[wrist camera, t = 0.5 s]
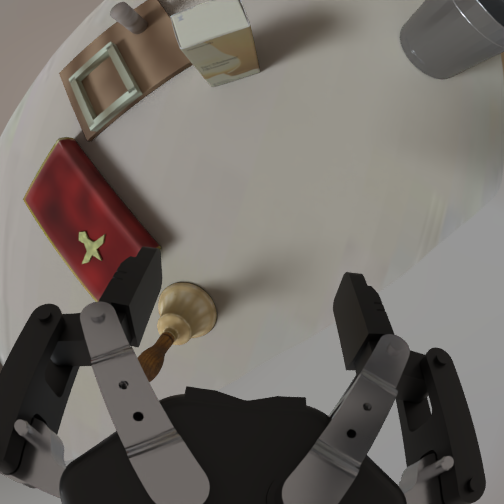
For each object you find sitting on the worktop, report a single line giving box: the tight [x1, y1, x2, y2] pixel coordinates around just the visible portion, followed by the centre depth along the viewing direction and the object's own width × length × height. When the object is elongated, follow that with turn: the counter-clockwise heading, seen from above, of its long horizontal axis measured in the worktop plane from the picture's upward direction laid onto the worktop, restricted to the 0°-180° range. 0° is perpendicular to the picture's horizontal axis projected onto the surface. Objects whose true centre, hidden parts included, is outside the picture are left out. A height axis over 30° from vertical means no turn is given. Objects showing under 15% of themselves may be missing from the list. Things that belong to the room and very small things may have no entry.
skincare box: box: [170, 0, 260, 87], centre depth 24 cm, size 6×4×12 cm
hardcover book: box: [23, 137, 161, 302], centre depth 35 cm, size 12×21×4 cm, turn 41°
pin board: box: [59, 0, 193, 141], centre depth 27 cm, size 18×14×7 cm
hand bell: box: [137, 283, 217, 382], centre depth 31 cm, size 8×8×16 cm
